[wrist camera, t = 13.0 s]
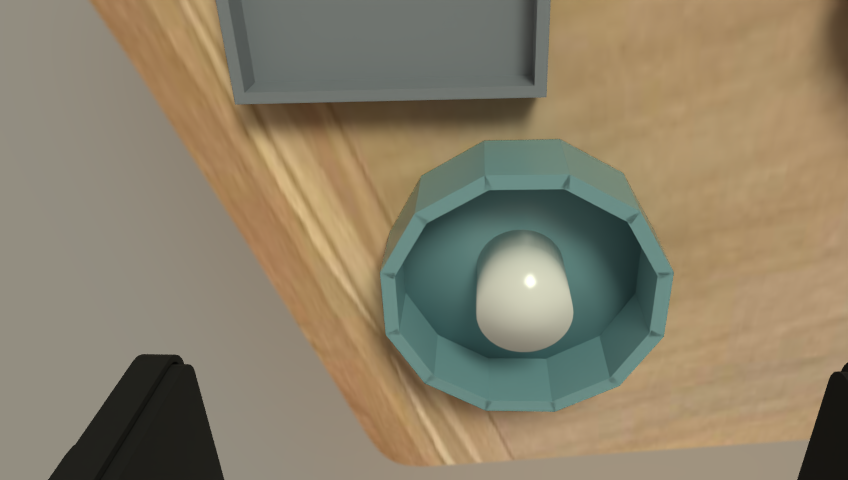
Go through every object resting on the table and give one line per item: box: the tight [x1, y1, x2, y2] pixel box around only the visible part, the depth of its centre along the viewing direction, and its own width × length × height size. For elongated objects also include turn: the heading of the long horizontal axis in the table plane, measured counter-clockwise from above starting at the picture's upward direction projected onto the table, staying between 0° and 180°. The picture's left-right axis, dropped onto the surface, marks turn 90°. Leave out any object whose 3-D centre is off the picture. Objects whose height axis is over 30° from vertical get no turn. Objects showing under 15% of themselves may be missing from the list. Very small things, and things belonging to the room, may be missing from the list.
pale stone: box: [476, 230, 573, 352], centre depth 39 cm, size 5×5×5 cm
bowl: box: [380, 139, 674, 412], centre depth 39 cm, size 16×16×5 cm
